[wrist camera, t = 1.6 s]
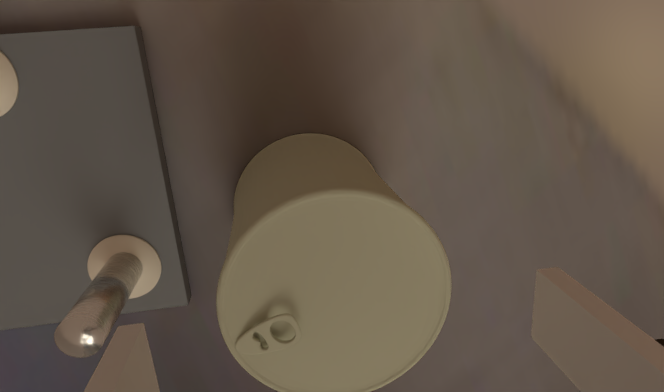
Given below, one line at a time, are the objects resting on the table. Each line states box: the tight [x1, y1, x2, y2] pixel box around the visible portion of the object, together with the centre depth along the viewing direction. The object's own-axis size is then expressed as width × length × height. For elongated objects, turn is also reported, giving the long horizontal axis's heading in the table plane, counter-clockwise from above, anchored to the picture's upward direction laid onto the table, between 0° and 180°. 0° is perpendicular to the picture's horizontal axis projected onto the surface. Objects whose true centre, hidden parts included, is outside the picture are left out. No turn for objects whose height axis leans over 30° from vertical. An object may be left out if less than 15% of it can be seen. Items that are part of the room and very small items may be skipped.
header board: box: [0, 26, 191, 330], centre depth 25 cm, size 16×16×1 cm
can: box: [216, 133, 451, 392], centre depth 22 cm, size 9×9×12 cm
